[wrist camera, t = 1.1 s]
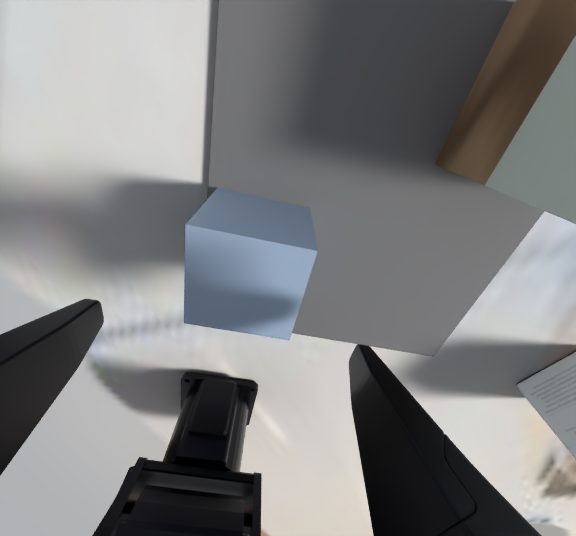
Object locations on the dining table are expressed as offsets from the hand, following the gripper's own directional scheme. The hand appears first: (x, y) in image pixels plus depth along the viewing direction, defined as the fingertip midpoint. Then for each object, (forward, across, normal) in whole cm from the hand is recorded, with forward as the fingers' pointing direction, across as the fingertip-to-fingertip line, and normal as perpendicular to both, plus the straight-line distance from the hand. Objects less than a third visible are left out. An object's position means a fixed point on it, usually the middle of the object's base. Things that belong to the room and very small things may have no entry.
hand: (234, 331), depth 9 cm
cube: (+7, 0, 0) cm, 7 cm away
